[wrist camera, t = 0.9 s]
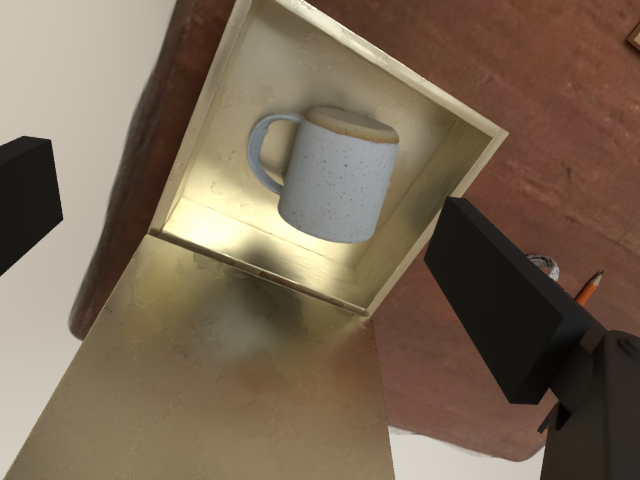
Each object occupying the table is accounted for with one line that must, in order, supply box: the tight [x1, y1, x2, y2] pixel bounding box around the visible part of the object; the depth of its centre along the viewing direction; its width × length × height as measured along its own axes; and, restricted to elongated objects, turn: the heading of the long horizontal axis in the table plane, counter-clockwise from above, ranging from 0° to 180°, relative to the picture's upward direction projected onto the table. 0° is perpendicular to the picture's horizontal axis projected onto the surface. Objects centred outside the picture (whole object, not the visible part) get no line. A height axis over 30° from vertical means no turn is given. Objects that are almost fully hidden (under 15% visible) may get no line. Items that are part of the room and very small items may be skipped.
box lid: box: [3, 234, 395, 480], centre depth 23 cm, size 19×19×5 cm
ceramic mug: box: [247, 107, 399, 244], centre depth 28 cm, size 11×8×8 cm
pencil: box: [575, 270, 604, 306], centre depth 45 cm, size 1×19×1 cm, turn 164°
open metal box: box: [147, 0, 509, 319], centre depth 29 cm, size 18×19×7 cm
